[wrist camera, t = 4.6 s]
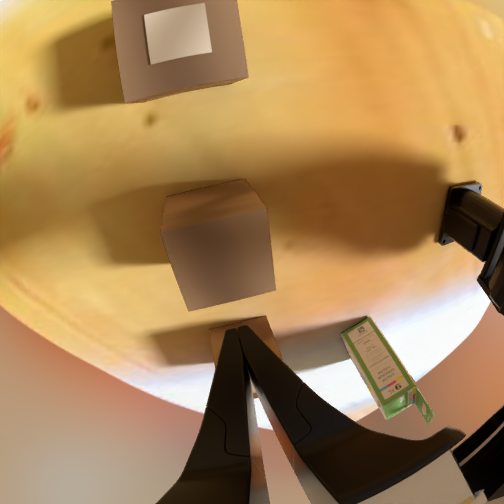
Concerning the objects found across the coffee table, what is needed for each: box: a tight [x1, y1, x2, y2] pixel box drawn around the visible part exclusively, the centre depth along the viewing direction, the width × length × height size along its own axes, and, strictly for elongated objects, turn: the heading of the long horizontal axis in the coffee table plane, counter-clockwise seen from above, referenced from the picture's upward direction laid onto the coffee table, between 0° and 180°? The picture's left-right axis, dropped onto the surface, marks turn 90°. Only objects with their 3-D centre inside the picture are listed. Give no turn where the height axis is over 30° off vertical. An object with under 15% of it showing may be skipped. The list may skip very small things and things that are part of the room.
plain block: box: [160, 179, 276, 311], centre depth 16 cm, size 5×5×5 cm
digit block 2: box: [209, 316, 283, 399], centre depth 22 cm, size 5×5×5 cm
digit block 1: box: [111, 0, 248, 103], centre depth 10 cm, size 5×5×5 cm
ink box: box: [341, 317, 434, 425], centre depth 24 cm, size 7×4×13 cm, turn 29°
